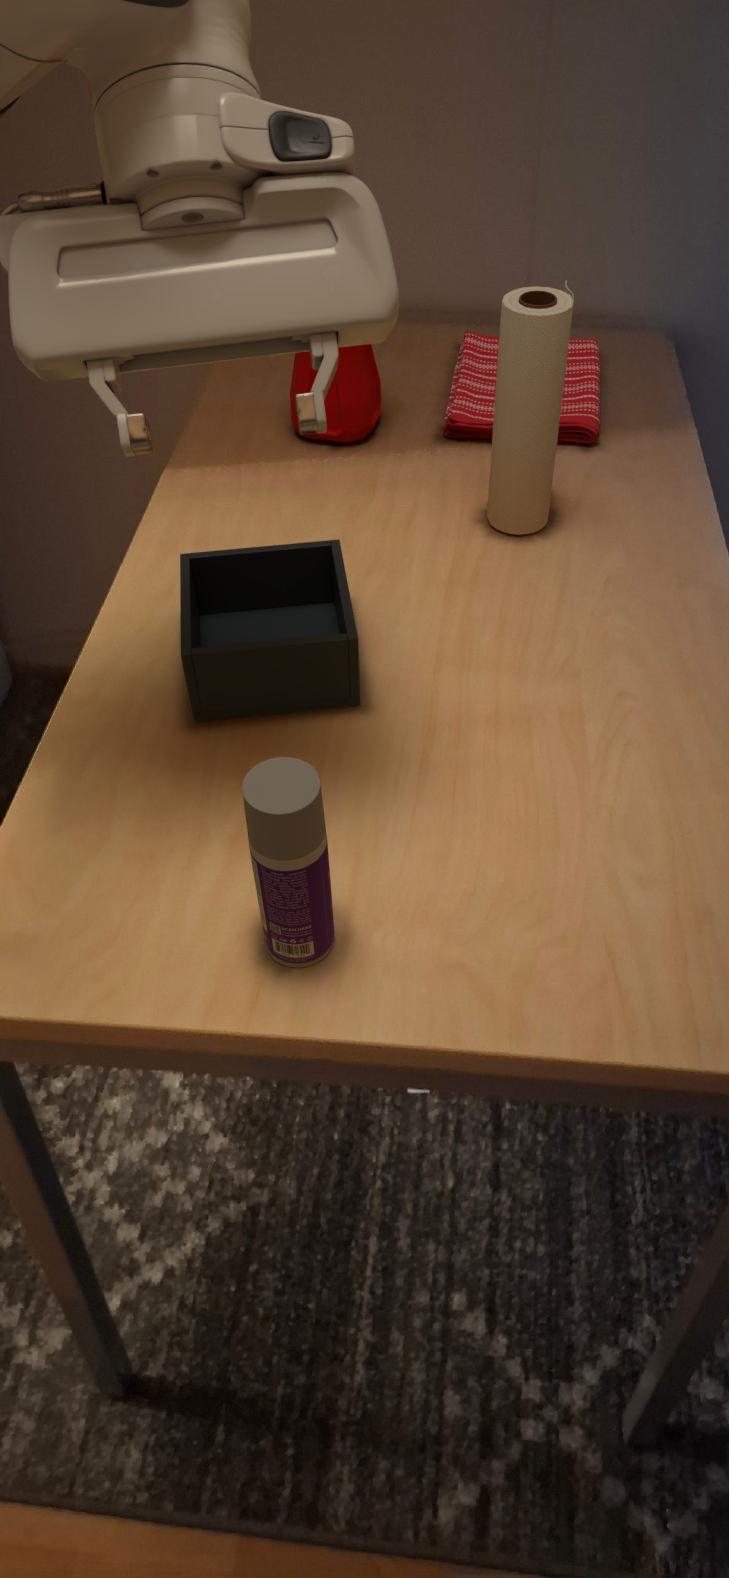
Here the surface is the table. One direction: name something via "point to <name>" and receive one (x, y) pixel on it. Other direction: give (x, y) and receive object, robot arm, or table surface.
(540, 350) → the paper towel roll
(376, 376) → the water bottle
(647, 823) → the table surface
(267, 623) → the tub
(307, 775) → the container
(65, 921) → the table surface
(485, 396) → the dish towel
